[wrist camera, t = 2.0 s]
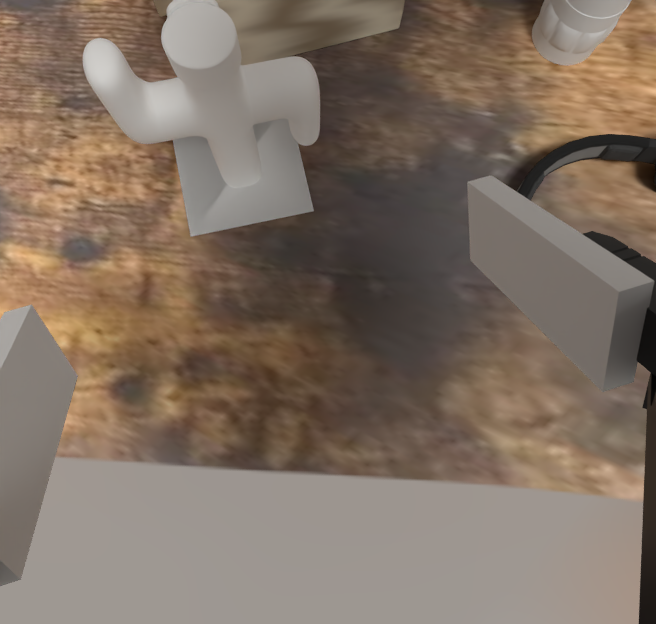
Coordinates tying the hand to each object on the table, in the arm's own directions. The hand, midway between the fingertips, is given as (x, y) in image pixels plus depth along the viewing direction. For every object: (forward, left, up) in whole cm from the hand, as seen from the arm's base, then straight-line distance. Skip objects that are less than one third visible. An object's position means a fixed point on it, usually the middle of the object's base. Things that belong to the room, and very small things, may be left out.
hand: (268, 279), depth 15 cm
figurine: (0, -11, -17) cm, 20 cm away
